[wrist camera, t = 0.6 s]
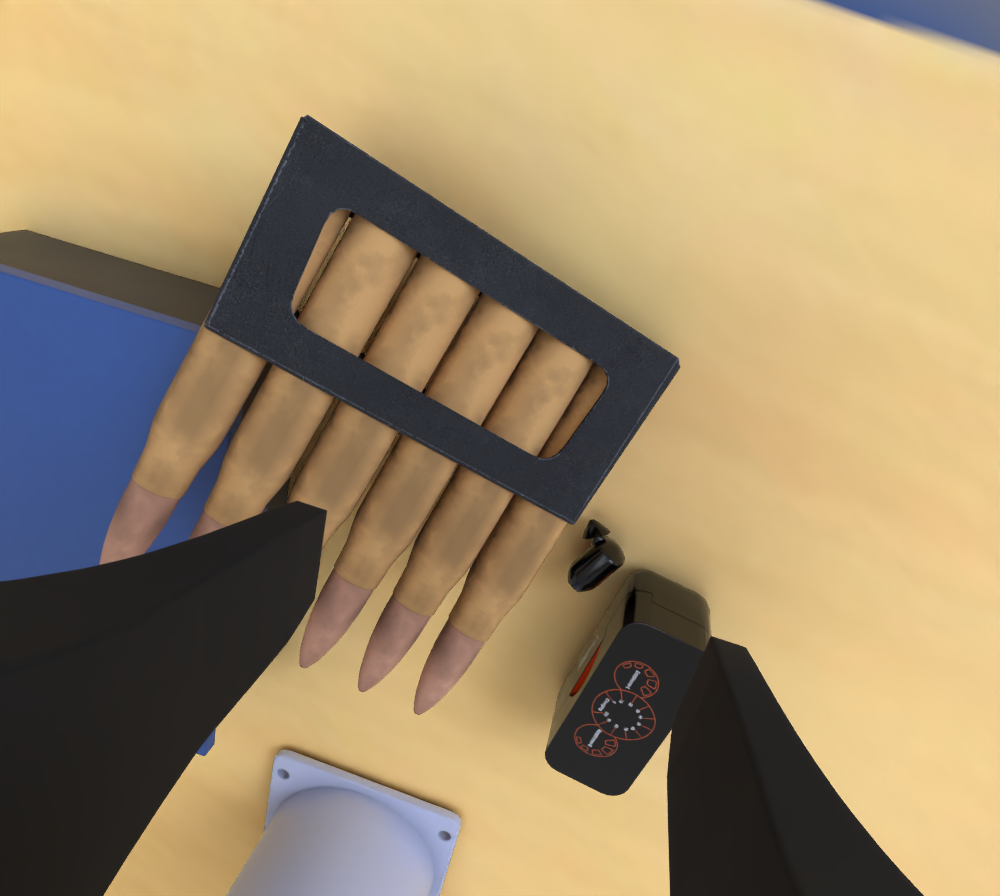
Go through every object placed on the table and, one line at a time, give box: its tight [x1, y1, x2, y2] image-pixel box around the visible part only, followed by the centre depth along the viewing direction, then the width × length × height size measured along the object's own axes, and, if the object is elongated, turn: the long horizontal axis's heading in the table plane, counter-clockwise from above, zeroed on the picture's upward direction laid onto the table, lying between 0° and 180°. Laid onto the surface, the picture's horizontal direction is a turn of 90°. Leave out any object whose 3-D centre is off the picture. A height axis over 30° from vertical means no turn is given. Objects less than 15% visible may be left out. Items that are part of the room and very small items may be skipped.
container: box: [0, 230, 290, 756], centre depth 24 cm, size 15×12×5 cm
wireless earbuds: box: [545, 520, 711, 796], centre depth 23 cm, size 5×7×3 cm, turn 158°
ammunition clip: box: [99, 115, 680, 715], centre depth 18 cm, size 11×2×12 cm
